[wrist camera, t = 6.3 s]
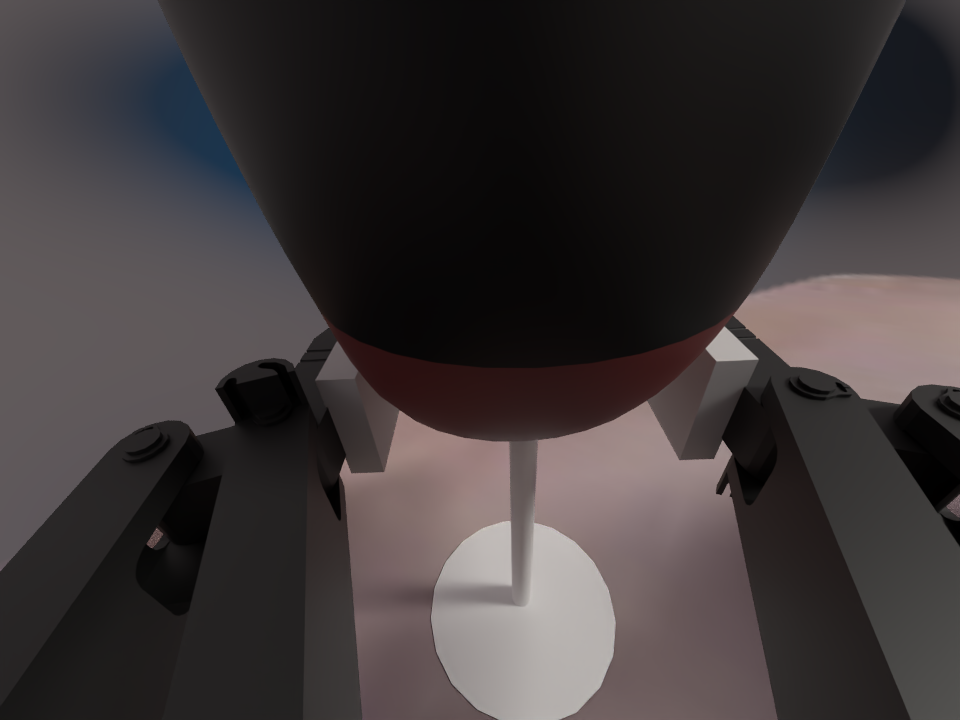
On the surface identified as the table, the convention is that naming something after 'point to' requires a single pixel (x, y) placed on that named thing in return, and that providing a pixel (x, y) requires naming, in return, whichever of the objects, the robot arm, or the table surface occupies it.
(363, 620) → the table surface
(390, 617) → the table surface
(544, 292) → the wineglass
